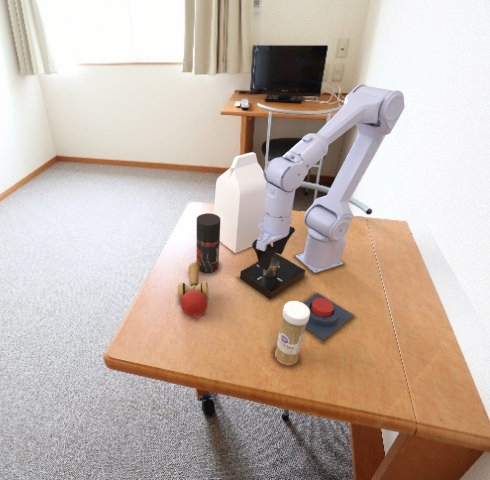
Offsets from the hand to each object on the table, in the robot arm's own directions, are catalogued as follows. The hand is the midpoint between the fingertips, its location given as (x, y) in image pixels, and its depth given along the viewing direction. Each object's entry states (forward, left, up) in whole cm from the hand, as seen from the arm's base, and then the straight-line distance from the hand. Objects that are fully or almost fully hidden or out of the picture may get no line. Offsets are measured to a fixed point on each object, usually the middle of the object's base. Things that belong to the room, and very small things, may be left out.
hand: (270, 260), depth 86 cm
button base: (-4, +15, -7) cm, 17 cm away
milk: (-4, -20, -7) cm, 22 cm away
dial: (0, 0, -4) cm, 4 cm away
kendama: (+19, -3, -7) cm, 21 cm away
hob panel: (-2, 0, -7) cm, 7 cm away
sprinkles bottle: (+10, +21, -7) cm, 24 cm away
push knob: (-4, +15, -4) cm, 16 cm away
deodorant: (+11, -11, -7) cm, 18 cm away
